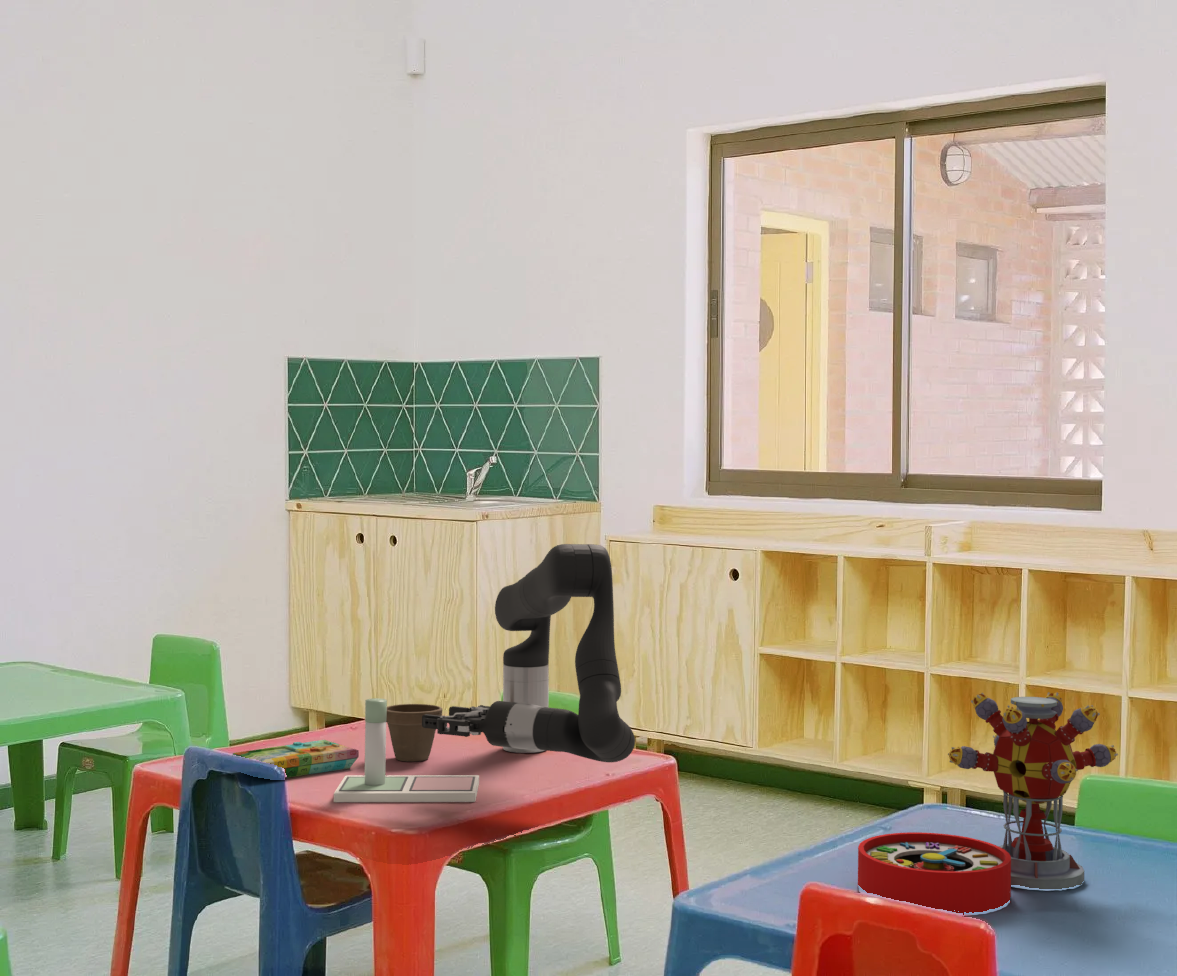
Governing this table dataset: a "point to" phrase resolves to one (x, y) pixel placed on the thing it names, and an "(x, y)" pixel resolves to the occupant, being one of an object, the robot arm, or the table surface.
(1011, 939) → the table surface
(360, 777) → the colouring board
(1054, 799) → the red knobbed tall piece
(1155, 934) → the table surface
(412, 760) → the flower pot
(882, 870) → the toy clock
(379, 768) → the green marker
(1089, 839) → the table surface
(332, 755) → the puzzle game
